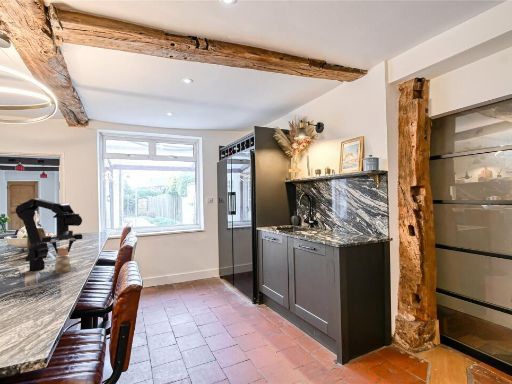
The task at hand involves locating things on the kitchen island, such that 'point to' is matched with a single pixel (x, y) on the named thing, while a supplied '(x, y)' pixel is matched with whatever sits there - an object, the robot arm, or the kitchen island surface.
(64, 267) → the base block
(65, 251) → the peach rounded cylinder
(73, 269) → the mat
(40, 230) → the block
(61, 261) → the top block
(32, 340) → the kitchen island surface
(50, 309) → the kitchen island surface
